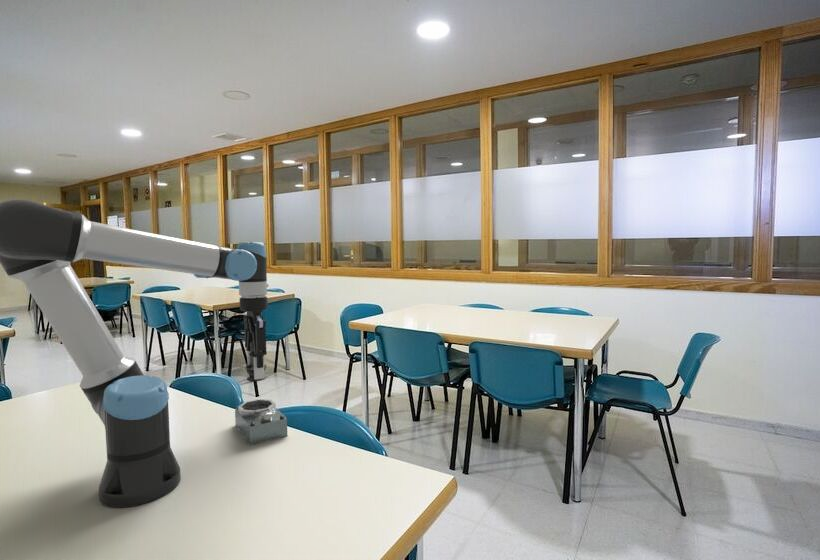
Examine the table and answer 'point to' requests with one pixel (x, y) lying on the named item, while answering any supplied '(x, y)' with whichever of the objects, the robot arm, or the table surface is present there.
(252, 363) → the dark grey tapered piece
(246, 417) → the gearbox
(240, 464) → the table surface
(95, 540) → the table surface
